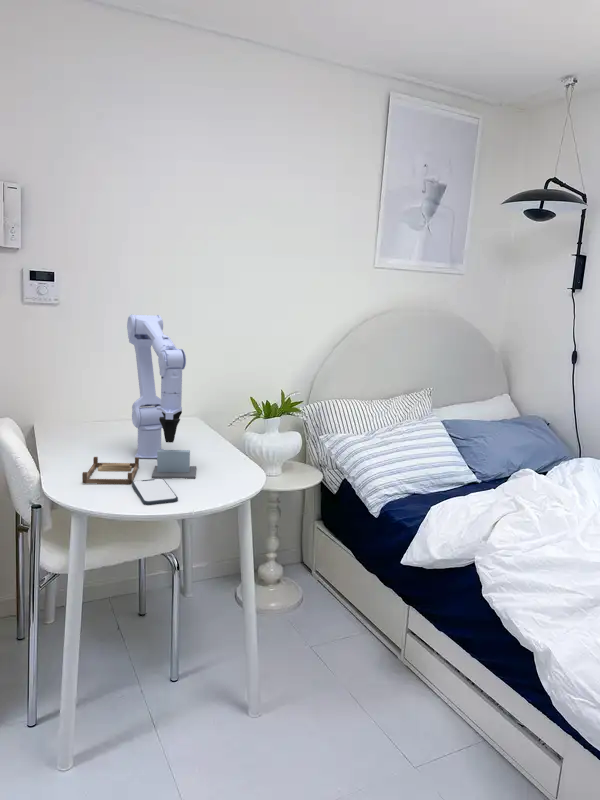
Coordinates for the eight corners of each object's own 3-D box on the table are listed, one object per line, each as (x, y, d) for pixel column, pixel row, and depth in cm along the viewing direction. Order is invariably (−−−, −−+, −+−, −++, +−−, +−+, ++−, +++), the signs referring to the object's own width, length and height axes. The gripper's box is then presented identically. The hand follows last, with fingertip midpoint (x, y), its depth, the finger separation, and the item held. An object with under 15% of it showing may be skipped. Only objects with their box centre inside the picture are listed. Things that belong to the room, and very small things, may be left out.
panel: (157, 469, 169) (158, 449, 168) (189, 470, 171) (189, 450, 170) (157, 471, 167) (157, 451, 166) (189, 472, 169) (189, 452, 168)
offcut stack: (99, 468, 170) (99, 462, 170) (131, 468, 171) (131, 463, 171) (97, 471, 167) (97, 465, 167) (130, 471, 168) (130, 466, 168)
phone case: (179, 504, 147) (163, 483, 161) (179, 498, 147) (163, 477, 161) (143, 508, 143) (130, 486, 157) (143, 502, 143) (130, 480, 157)
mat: (155, 467, 173) (155, 465, 173) (196, 468, 175) (196, 466, 175) (151, 478, 164) (151, 476, 163) (195, 478, 165) (195, 476, 165)
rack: (94, 466, 171) (94, 456, 170) (138, 467, 173) (138, 457, 172) (82, 484, 156) (82, 473, 155) (131, 484, 158) (131, 473, 157)
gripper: (159, 387, 172) (158, 432, 175) (154, 396, 158) (153, 445, 161) (183, 387, 173) (182, 432, 176) (181, 397, 159) (180, 445, 162)
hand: (170, 438), depth 168 cm, fingers open, 7 cm apart
